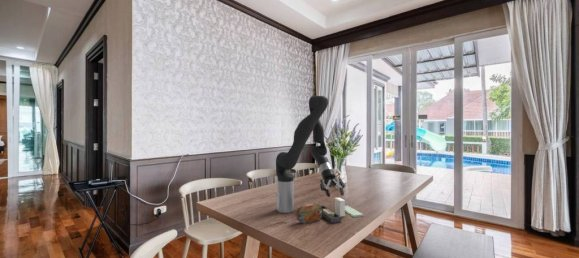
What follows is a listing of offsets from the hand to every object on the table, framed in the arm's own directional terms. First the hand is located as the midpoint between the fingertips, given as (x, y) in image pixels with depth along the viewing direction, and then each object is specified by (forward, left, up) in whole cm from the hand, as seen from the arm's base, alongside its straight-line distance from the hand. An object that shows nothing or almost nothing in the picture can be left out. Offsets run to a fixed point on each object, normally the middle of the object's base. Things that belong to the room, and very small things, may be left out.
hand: (336, 195), depth 139 cm
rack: (-8, -4, -9) cm, 13 cm away
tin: (-20, -8, -9) cm, 23 cm away
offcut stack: (-7, -4, -10) cm, 13 cm away
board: (+8, -2, -9) cm, 12 cm away
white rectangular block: (0, -4, -9) cm, 10 cm away
